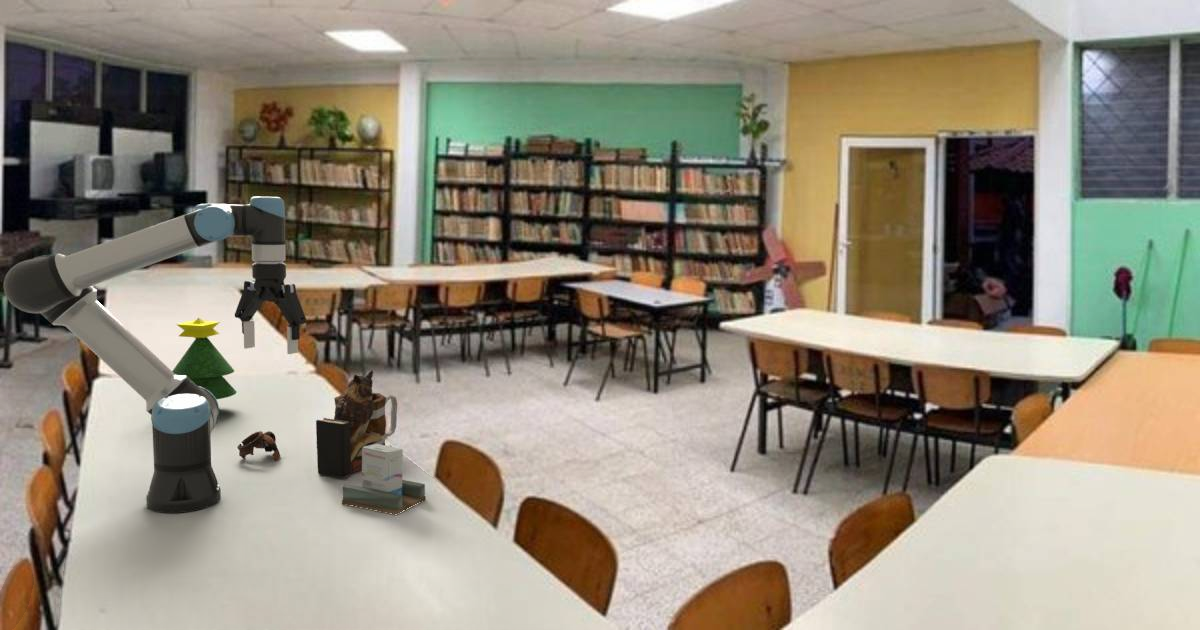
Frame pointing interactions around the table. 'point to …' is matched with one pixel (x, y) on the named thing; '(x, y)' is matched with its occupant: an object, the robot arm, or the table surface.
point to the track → (384, 497)
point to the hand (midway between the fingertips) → (270, 350)
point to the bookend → (347, 430)
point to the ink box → (382, 468)
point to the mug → (380, 415)
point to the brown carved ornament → (259, 444)
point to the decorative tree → (204, 360)
